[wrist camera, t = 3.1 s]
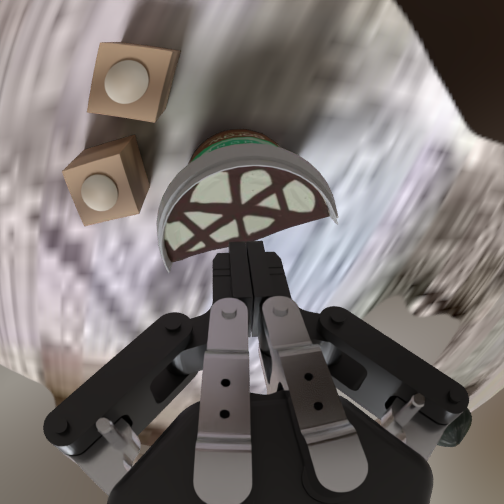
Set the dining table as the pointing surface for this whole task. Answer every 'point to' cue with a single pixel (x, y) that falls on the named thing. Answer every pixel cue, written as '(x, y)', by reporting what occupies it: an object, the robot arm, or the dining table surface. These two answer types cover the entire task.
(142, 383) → the robot arm
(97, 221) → the marked block
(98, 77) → the marked block
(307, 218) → the food container
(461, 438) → the squash
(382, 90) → the dining table surface
